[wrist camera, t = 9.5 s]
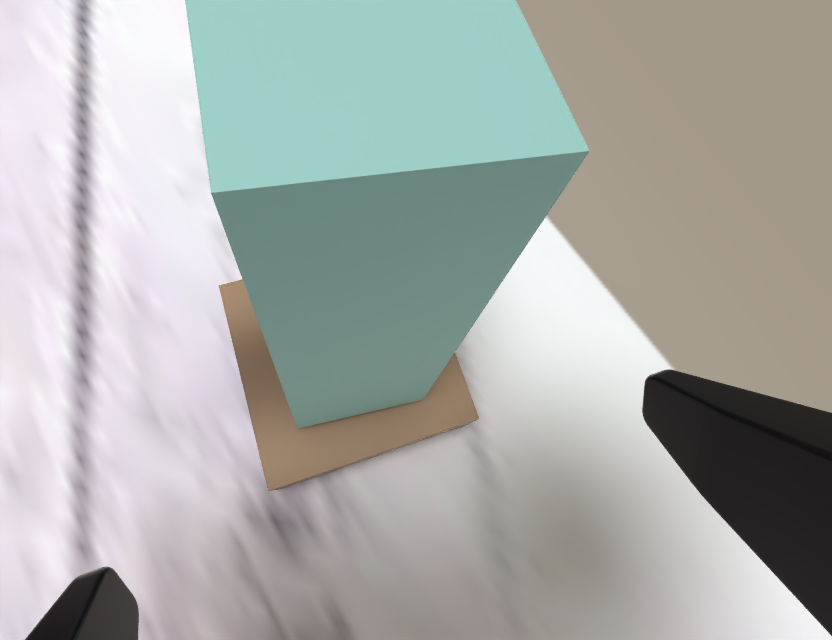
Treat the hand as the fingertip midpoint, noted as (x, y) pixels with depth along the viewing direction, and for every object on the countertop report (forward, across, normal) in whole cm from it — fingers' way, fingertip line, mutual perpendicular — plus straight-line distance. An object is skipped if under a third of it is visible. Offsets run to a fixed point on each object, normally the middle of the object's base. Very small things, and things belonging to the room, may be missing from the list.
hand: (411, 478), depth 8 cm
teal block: (+10, 0, +4) cm, 11 cm away
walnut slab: (+13, 0, +6) cm, 14 cm away
